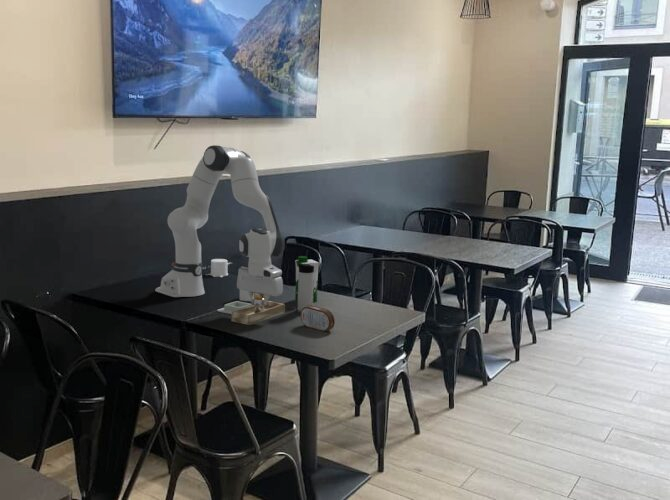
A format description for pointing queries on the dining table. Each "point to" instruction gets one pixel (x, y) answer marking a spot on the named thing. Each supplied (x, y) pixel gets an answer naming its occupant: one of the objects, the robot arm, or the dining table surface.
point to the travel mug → (305, 286)
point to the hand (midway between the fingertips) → (259, 303)
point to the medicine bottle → (244, 295)
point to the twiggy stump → (219, 267)
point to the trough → (251, 318)
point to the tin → (317, 318)
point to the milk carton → (313, 263)
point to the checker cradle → (234, 307)
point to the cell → (258, 302)
